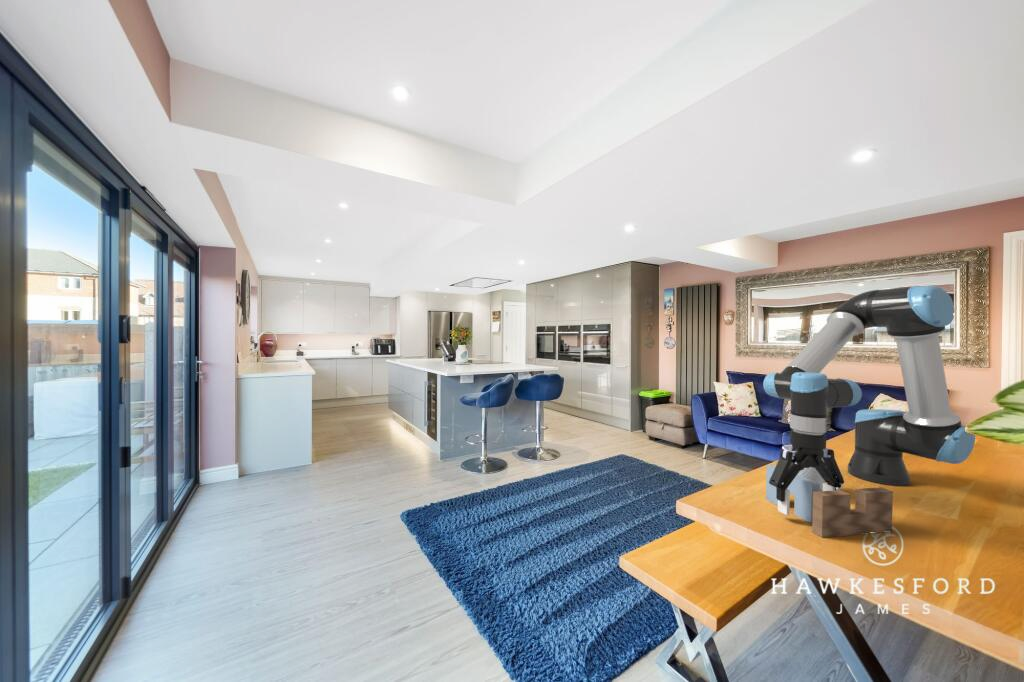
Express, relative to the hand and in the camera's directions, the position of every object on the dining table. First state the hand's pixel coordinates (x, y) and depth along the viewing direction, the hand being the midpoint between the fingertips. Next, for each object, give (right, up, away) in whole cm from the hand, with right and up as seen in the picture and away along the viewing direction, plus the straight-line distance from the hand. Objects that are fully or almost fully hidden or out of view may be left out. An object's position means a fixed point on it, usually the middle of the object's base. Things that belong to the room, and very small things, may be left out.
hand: (806, 511), depth 98 cm
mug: (+13, -2, +16) cm, 20 cm away
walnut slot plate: (+6, -2, -7) cm, 9 cm away
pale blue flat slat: (-1, -2, +4) cm, 5 cm away
